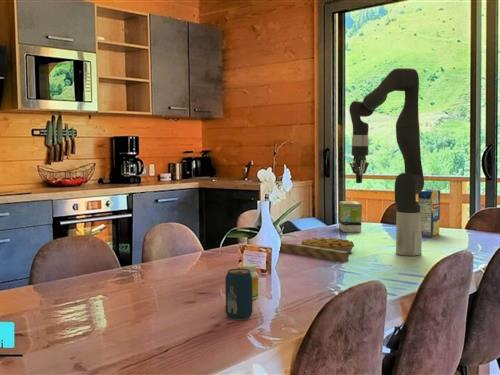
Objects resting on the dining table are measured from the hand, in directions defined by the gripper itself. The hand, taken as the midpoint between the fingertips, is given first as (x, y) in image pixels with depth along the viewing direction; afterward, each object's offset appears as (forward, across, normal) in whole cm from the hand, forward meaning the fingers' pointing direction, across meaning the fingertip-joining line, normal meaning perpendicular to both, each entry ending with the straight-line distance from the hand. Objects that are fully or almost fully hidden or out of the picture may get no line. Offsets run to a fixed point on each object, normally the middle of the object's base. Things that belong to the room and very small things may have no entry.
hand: (358, 183), depth 262 cm
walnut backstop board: (+27, -43, -4) cm, 51 cm away
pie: (+27, -30, -5) cm, 41 cm away
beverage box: (+27, +41, -15) cm, 52 cm away
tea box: (+28, +28, +22) cm, 45 cm away
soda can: (+26, -122, -41) cm, 132 cm away
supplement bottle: (+26, -107, -31) cm, 115 cm away
